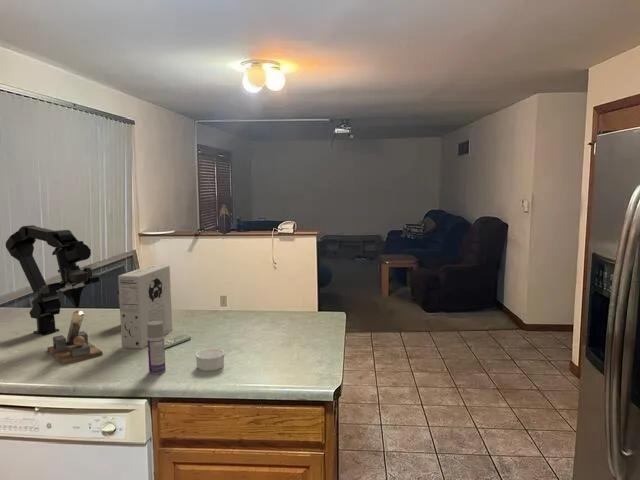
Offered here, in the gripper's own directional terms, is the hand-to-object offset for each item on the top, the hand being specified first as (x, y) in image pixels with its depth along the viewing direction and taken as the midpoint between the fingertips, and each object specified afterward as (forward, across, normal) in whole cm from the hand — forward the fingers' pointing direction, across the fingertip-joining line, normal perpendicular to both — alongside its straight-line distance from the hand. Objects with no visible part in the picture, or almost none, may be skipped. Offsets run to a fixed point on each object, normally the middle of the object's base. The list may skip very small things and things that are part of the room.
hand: (77, 307), depth 183 cm
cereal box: (+17, +14, -16) cm, 27 cm away
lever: (+11, -8, -7) cm, 15 cm away
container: (+24, -4, -44) cm, 50 cm away
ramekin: (+26, +9, -54) cm, 61 cm away
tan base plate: (+14, -9, -9) cm, 19 cm away
